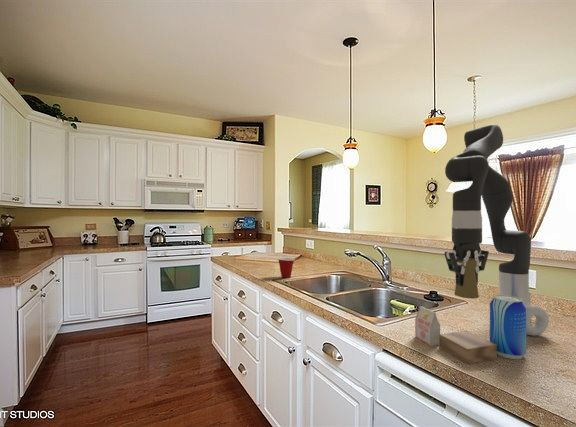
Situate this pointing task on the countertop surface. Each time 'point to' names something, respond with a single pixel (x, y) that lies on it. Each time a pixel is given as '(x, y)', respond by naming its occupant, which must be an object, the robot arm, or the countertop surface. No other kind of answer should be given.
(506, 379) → the countertop surface
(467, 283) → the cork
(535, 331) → the donut
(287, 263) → the plastic cup
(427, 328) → the white tall box
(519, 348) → the beer can
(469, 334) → the walnut base
